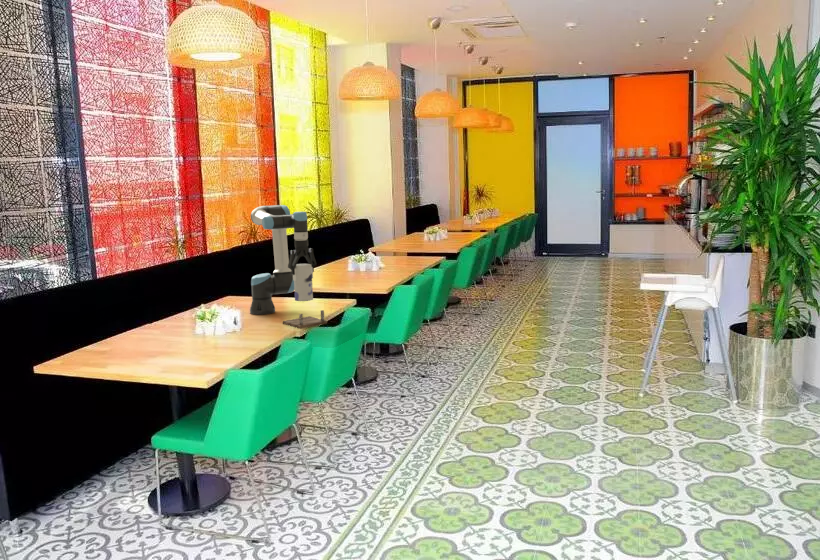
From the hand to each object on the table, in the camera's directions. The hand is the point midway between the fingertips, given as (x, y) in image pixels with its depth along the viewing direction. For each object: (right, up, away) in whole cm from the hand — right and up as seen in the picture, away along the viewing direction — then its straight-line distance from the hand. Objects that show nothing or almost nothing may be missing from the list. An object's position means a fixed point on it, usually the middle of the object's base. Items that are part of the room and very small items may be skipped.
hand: (303, 279), depth 409 cm
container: (0, -12, +2) cm, 12 cm away
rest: (0, -25, +4) cm, 25 cm away
